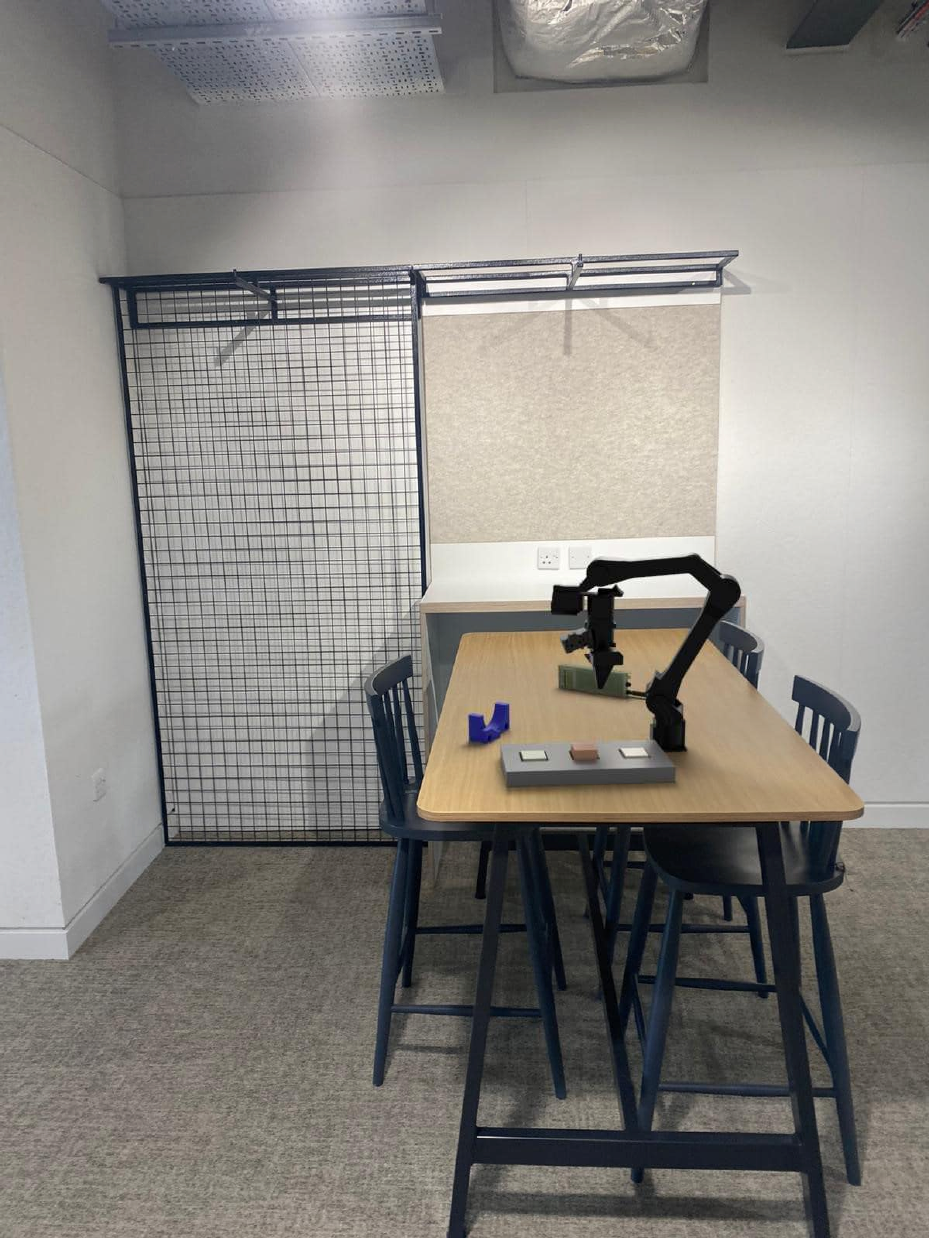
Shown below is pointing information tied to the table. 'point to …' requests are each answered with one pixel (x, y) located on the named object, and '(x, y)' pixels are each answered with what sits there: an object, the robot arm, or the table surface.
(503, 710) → the cable clip
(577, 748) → the peach square block
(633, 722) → the table surface
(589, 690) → the handheld radio
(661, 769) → the keypad
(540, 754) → the sage key
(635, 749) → the cream key
